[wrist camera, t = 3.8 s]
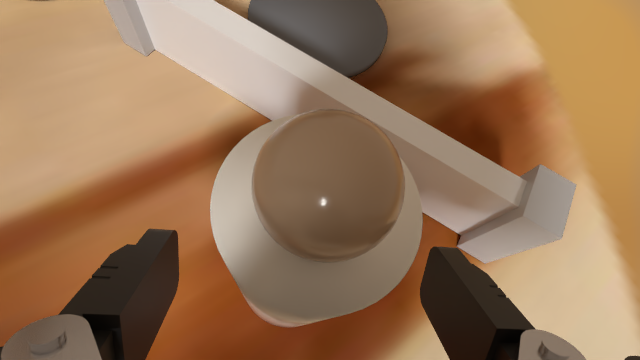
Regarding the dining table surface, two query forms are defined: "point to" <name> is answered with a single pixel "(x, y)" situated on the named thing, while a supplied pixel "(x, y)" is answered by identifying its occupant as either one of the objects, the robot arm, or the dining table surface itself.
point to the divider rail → (344, 94)
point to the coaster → (326, 29)
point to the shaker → (315, 216)
